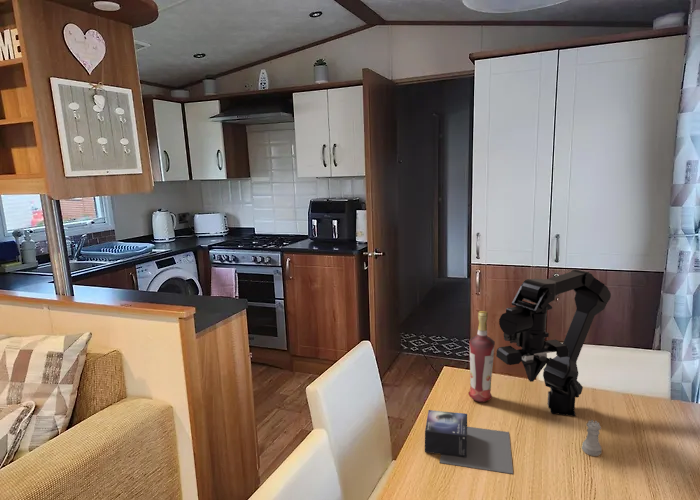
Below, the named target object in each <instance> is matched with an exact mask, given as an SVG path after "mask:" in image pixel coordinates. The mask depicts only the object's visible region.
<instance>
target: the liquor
mask: <svg viewBox="0 0 700 500" xmlns="http://www.w3.org/2000/svg"><path fill="white" fill-rule="evenodd" d="M477 314H478V315H477V319H478V327H477V333H476V335H474V336H472V337H471V338H470V339H469V341H468V342H469V379H470V380H469V381H470V383H469V385H470V387H469V392H468V395H469V397H470V398H471V399H472V400H473V401H475V402H477V403H486V402H488V401H489V400H491V399H492V397H493V395H492V393H491V391H492V376H493V365H494V364H493V363H494V355H495V340H494V339H493V338H491V337H490V336H488V327H487V322H488V317H489V316H488V314H489V313H488V311H486V310H480V311H478V313H477Z"/></svg>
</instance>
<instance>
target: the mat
mask: <svg viewBox="0 0 700 500" xmlns="http://www.w3.org/2000/svg"><path fill="white" fill-rule="evenodd" d="M510 438H511V437H510V432H509V431H503V430H497V429H487V428H482V427H481V428H480V427H472V426H467V457H460V456H453V455H446V454H440V456H439V457H440V458H439V464H444V465H449V466H450V465H452V466H458V467H464V468H468V469H469V468H470V469H478V470H483V471H488V472H489V471H490V472H495V473H496V472H498V473H501V474H502V473H503V474H509V475H514V470H513V469H514V468H513V459H512V450H511V440H510Z"/></svg>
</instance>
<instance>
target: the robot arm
mask: <svg viewBox="0 0 700 500" xmlns="http://www.w3.org/2000/svg"><path fill="white" fill-rule="evenodd" d="M569 291H573V292H574V293H575V295H574V304H575V307H576V309H575V312H574V315H573V317H572V319H571V322H570V325H569V327H568V328H567V329H568V330H567V332H566V335H565V337H564V339H563V341H562V342H561V341H560V340H557V339H550V340H546V338H549V335H550V333H549V332H547V331H546V330H547V329H546V328H547V317H548V314H547V312H548V311H550V310H552V309H553V306H552V305H551V304H550V303H552V302H553V301H555V300H556V297H557V296H558V295H561V294H564V293H567V292H569ZM611 297H612V294H611V291H610V289H609V288H608V286H606V284H604V283H603V282H601V281H600V280H599V279H597V278H596V277H595V276H594V275H593V274H592V273H591V272H589V271H586V270H581V269H572V270H571V271H569V272H566V273H563V274H559V275H556V276H553V277H550V278H545V279H543V278H528V279H525V280H524V281H523V282H522V284H521V285H520V287H519V288H518V291H517V292H516V294H515V296H514V298H513V300H512V302H511V305H512V306H513V307H507V308H505V312H504V313H502V314H501V315H500V318H499V320H498V323H499V328H500V329H501V331H502V333H503V340H504V341H505V342H509V343H510V344H516V346H517V347H519V348H520V349H516V348H515V347H513V346H512V345H505V346H500V347H498V348H497V349H496V358H498V360H500V361H502V362H503V363H504V364H506V365H509V366H513V365H519V364H520V363H522V365H523V368H524V371H525V373H526V376H527V377H526V378H527V380H528V382H530V383H533V382H534V381H535V380H536V379H537V377H538V376H539V374H540V372H541V371H542V370H543V373H542V377H543V381H544V385H545V387H547V388H550V390H549V391H548V392H547V404H546V405H547V407H548V409H549V411H550V414H552V415H561V416H571V417H575V416H576V412H575V408H576V407H575V406H576V398H580V395H581V394H582V392H583V388H584V386H582V384H581V383H580V382H579V381H578V376H579V369H578V365H577V363H578V362H577V361H578V359H579V356H580V354H581V351H582V349H583V346H584V344H585V340H586V338H587V336H588V333H589V331H590V328H591V326H592V323H593V322H594V318H595V316H596V315H598V314H599V313H601V312H602V311H604V310H605V308H606V306H607V304H608V302H609V301H610V299H611ZM524 300H525V301H524ZM548 353H549V354H550V353H555V354H556V356H555V357H553V358H552V357H548Z"/></svg>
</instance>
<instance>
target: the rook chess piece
mask: <svg viewBox="0 0 700 500" xmlns="http://www.w3.org/2000/svg"><path fill="white" fill-rule="evenodd" d="M586 427H587V429H586V432H587V435H586V437H585V439H584V440H583V442H582V445H581V449H582V451H583V452H584V453H585V454H586V455H588V456H591V457H598V456H600V455H601V454H602V450H603V449H602V446H601V443H600V440H599V435H600V430H601V429H602V426H601V425H600V421H599V422H598V420H595V421H594V419H590V420H589V419H588V422H586Z"/></svg>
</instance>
